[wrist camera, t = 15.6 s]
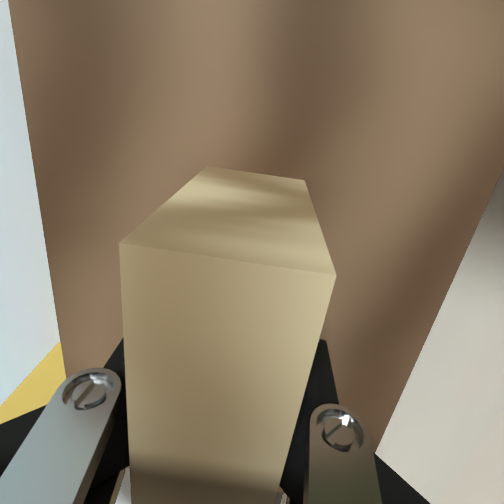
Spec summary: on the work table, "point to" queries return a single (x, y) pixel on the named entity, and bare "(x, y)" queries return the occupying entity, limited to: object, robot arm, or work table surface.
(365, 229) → the lid
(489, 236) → the work table surface
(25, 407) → the yellow rectangular block
